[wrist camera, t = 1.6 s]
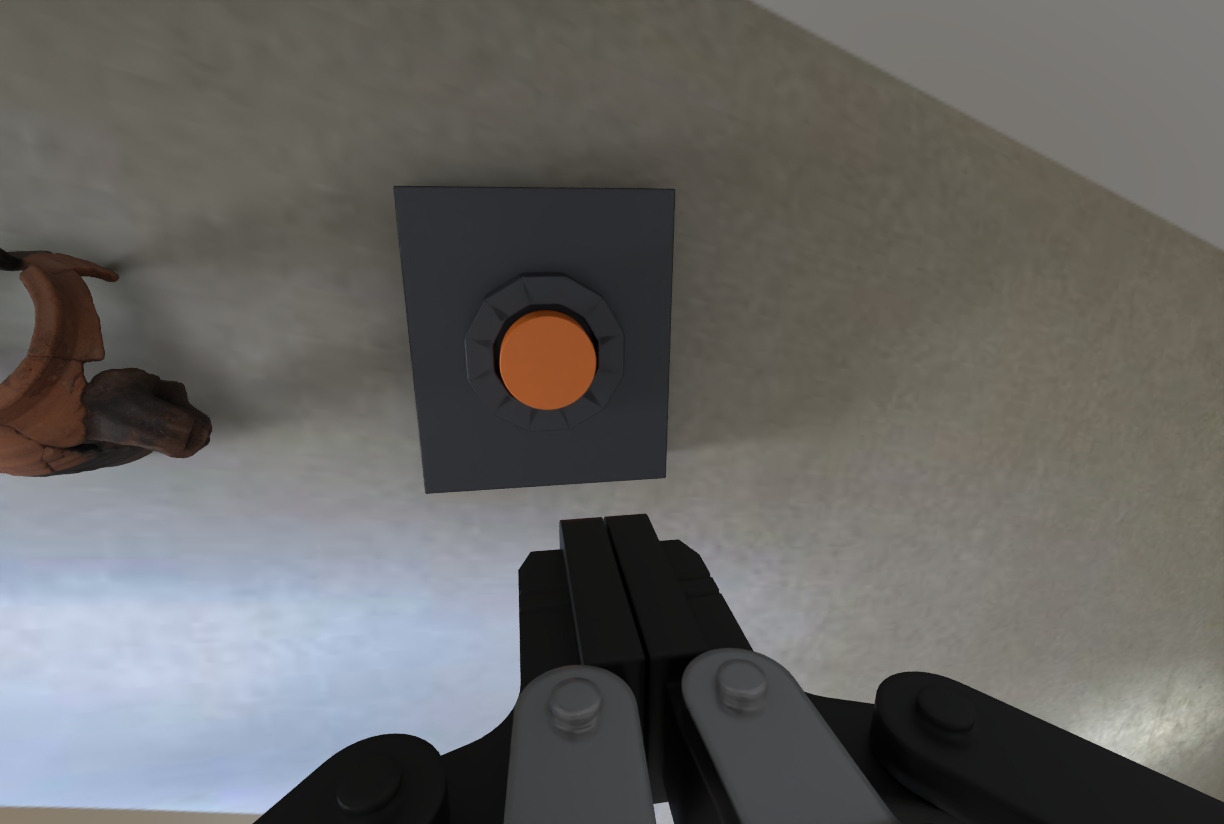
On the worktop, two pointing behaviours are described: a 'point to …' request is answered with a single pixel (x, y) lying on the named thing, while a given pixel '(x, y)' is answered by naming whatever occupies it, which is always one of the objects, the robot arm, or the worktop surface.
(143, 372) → the broken clay vessel
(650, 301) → the push button base
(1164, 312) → the worktop surface
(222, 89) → the worktop surface
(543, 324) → the power button
